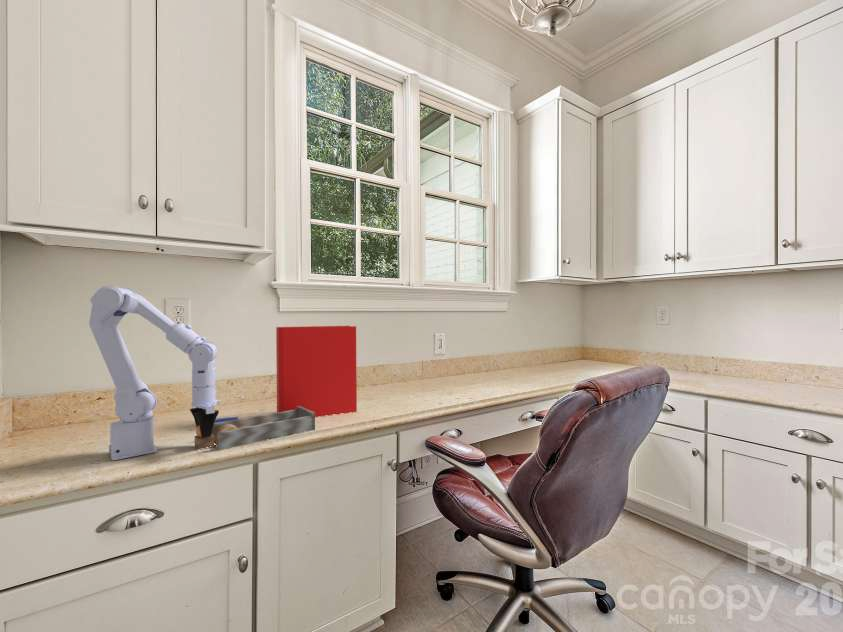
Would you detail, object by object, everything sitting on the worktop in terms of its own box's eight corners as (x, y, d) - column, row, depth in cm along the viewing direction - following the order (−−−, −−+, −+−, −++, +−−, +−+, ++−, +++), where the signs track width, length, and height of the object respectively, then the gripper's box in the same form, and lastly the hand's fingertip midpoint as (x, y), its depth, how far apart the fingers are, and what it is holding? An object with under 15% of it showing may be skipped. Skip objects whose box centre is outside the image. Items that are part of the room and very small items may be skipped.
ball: (197, 440, 106) (197, 425, 106) (194, 437, 109) (194, 422, 109) (214, 437, 108) (214, 423, 108) (210, 434, 111) (210, 420, 111)
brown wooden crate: (197, 450, 106) (197, 439, 106) (194, 446, 109) (194, 435, 109) (214, 446, 108) (214, 436, 108) (210, 443, 111) (210, 432, 111)
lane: (218, 465, 105) (217, 429, 105) (207, 453, 114) (207, 421, 114) (315, 442, 124) (314, 412, 124) (299, 434, 132) (299, 405, 132)
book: (350, 407, 153) (349, 325, 153) (356, 411, 146) (356, 326, 146) (276, 416, 141) (275, 327, 140) (279, 421, 133) (278, 327, 133)
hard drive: (211, 419, 133) (206, 429, 122) (238, 416, 136) (235, 426, 125) (211, 423, 133) (206, 434, 122) (238, 421, 136) (235, 431, 125)
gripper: (227, 387, 105) (227, 438, 105) (213, 380, 116) (213, 426, 116) (197, 391, 101) (197, 443, 101) (186, 383, 112) (186, 431, 112)
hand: (204, 434), depth 108 cm, fingers closed on ball, 4 cm apart
